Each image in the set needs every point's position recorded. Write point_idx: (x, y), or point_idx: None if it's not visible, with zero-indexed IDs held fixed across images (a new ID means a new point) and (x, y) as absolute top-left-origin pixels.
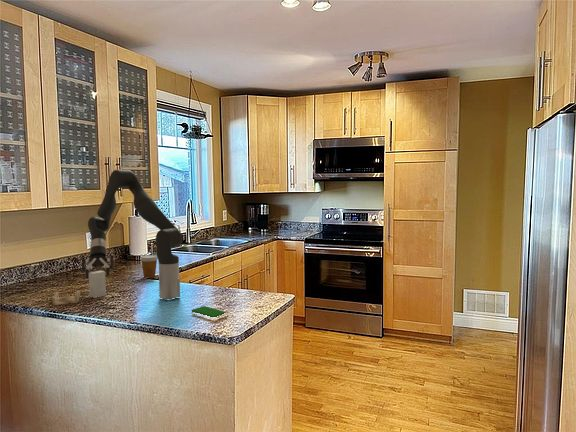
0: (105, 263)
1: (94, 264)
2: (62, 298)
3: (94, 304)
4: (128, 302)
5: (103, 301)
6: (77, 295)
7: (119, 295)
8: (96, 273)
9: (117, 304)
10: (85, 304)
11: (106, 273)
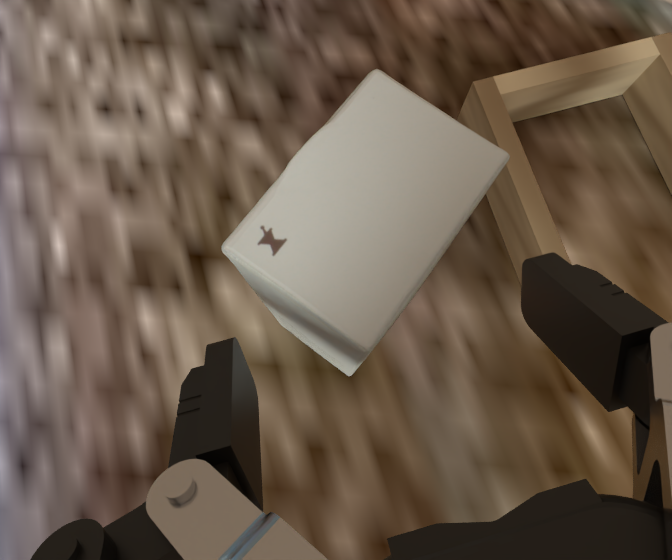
0: (240, 553)
1: (596, 500)
2: (587, 56)
3: (297, 69)
4: (33, 99)
5: (248, 139)
6: (484, 107)
7: (147, 312)
8: (339, 107)
9: (114, 57)
10: None
11: (229, 346)
